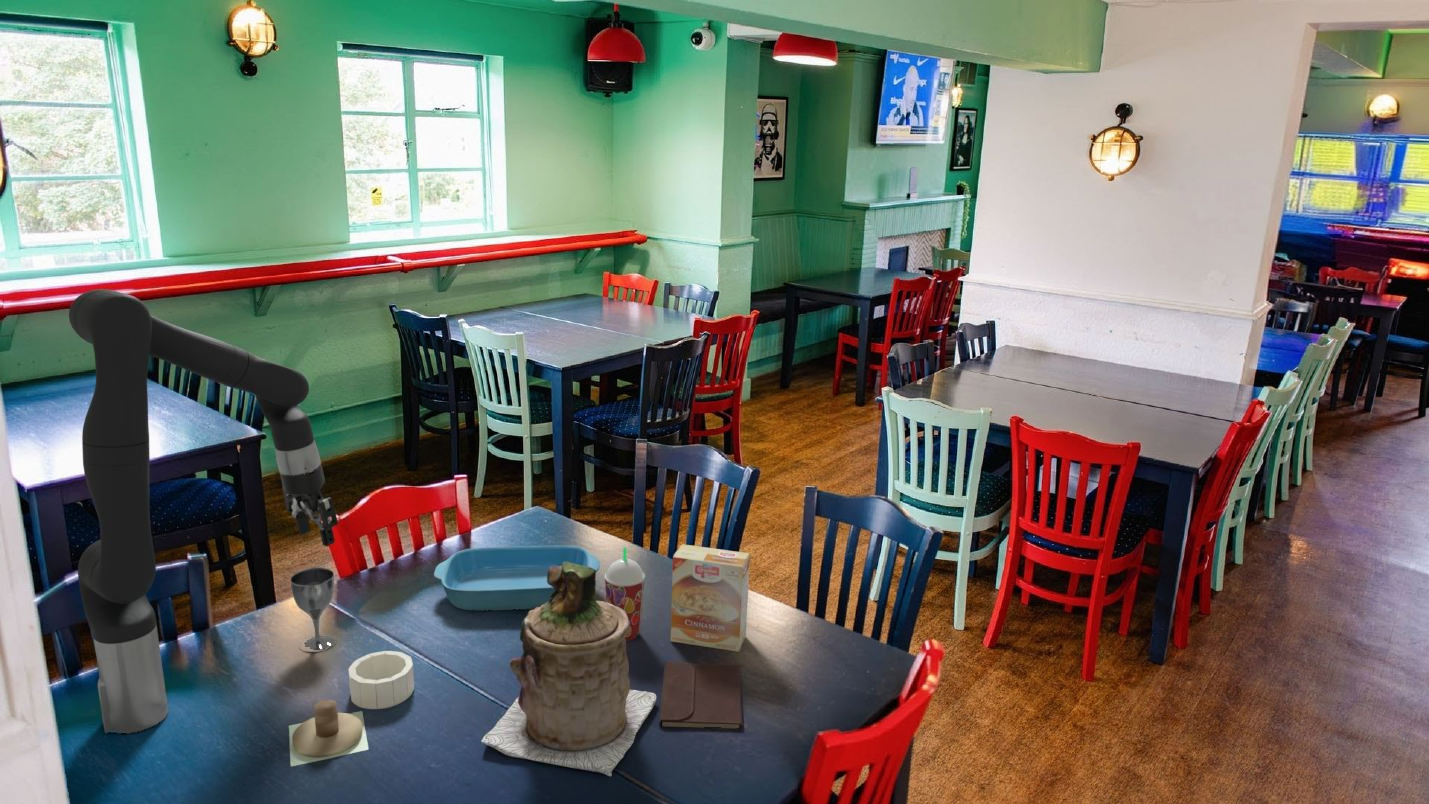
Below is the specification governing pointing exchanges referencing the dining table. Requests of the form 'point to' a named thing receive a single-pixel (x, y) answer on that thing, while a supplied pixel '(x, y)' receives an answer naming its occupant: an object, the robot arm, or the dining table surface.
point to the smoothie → (626, 591)
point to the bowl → (381, 679)
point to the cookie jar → (573, 681)
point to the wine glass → (314, 600)
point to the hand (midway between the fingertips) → (317, 538)
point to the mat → (300, 759)
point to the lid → (327, 732)
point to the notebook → (701, 695)
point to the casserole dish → (505, 575)
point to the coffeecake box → (709, 597)
